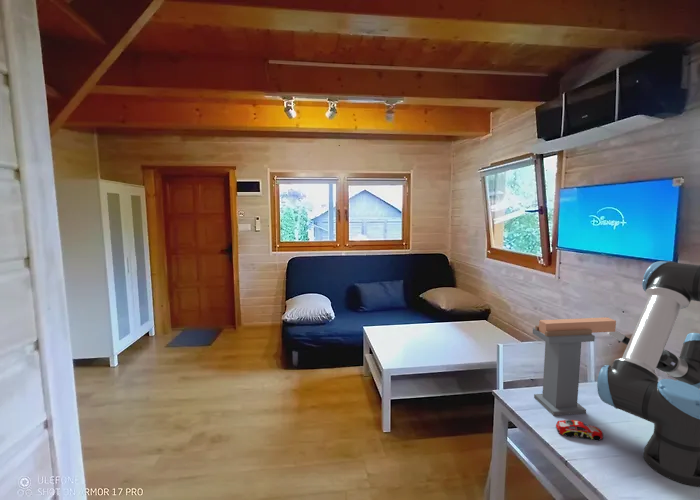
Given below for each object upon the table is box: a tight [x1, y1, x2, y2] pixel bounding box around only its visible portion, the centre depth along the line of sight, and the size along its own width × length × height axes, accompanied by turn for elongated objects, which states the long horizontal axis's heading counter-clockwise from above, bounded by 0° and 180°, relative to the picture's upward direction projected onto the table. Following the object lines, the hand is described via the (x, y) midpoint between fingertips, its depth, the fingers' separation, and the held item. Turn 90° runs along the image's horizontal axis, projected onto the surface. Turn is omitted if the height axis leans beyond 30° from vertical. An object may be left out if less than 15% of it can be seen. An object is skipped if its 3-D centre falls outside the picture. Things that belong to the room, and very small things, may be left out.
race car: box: [555, 419, 604, 442], centre depth 122 cm, size 13×5×4 cm, turn 74°
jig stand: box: [532, 324, 596, 417], centre depth 137 cm, size 16×12×30 cm
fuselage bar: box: [538, 316, 617, 334], centre depth 135 cm, size 26×4×4 cm, turn 95°
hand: (623, 337), depth 137 cm, fingers open, 13 cm apart
